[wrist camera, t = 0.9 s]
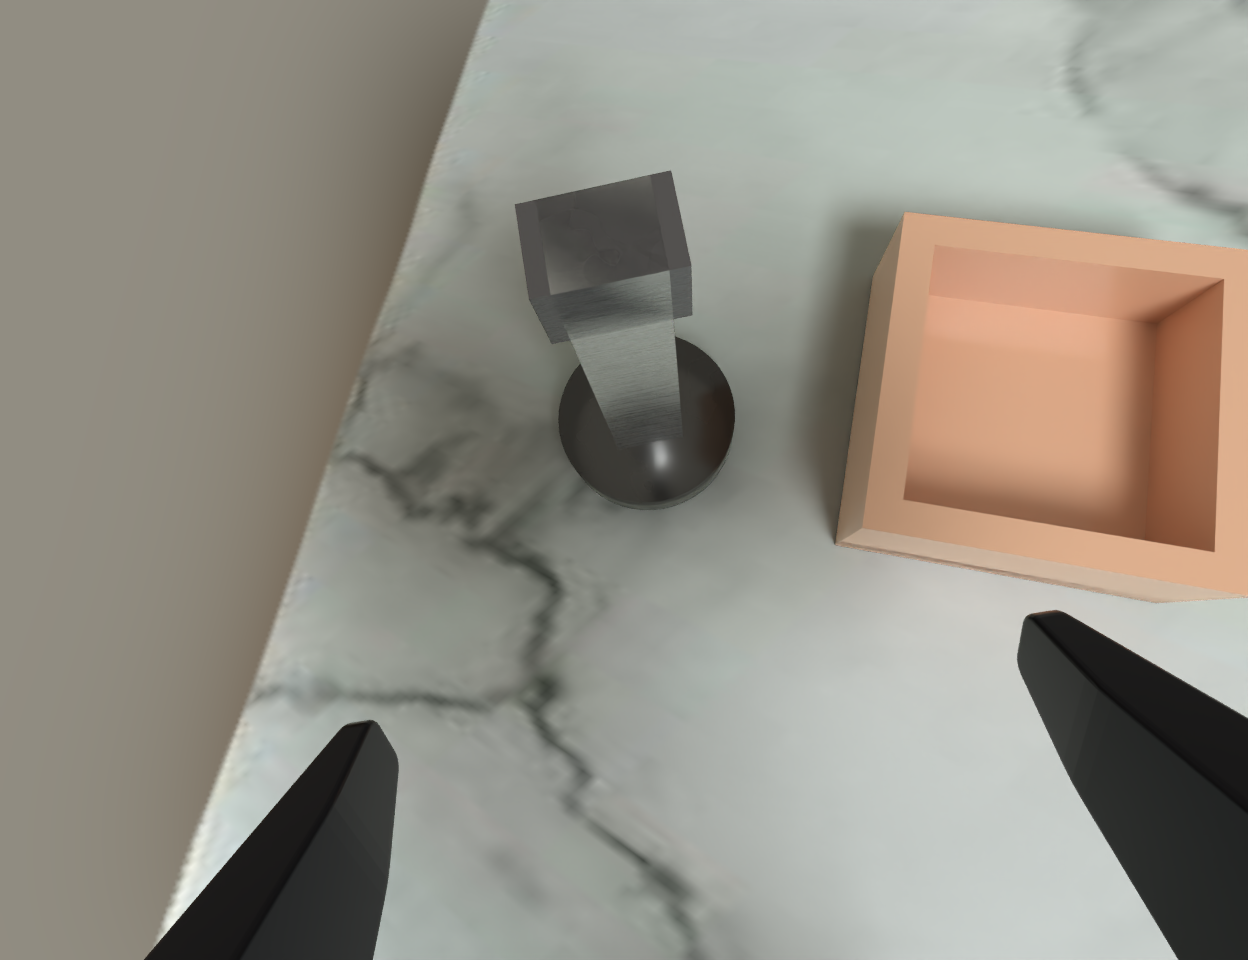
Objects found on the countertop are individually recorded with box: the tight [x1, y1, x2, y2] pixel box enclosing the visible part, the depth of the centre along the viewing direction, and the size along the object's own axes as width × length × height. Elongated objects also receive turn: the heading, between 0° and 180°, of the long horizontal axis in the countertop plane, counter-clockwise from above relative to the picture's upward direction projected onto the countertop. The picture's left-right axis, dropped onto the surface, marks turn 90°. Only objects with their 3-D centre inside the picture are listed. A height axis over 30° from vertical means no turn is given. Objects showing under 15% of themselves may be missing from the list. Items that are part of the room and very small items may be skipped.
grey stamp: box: [515, 171, 735, 510], centre depth 19 cm, size 6×6×12 cm
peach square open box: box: [835, 212, 1248, 603], centre depth 22 cm, size 10×10×4 cm
